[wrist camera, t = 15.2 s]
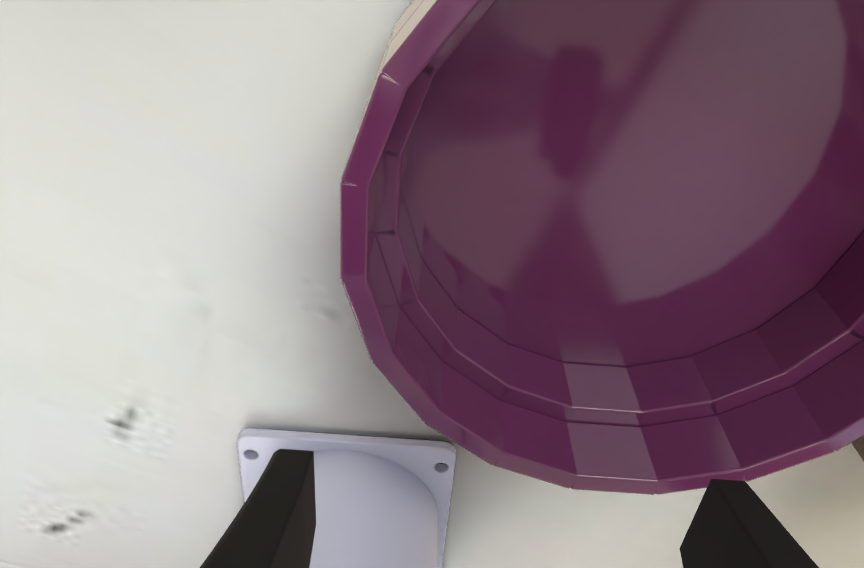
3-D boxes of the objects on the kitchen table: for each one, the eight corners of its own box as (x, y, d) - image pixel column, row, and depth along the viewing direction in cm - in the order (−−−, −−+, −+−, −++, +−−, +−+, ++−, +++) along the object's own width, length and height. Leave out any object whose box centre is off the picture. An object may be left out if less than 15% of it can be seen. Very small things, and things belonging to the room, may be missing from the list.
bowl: (801, 390, 23) (880, 511, 19) (361, 359, 23) (340, 474, 18) (1062, -127, 15) (1307, -118, 10) (371, -188, 14) (338, -204, 10)
